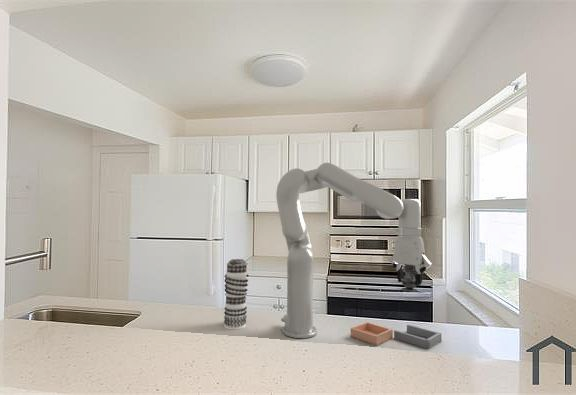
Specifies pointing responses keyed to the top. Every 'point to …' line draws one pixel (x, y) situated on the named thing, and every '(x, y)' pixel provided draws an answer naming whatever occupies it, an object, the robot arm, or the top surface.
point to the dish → (371, 333)
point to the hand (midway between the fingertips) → (409, 282)
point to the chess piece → (409, 279)
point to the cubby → (426, 343)
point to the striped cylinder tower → (235, 294)
